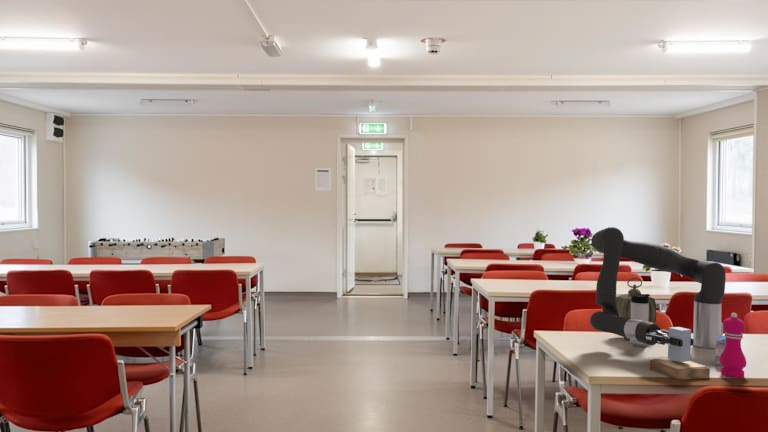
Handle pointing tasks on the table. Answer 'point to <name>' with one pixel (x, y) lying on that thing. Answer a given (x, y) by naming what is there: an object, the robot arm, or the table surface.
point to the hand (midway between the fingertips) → (687, 342)
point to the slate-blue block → (675, 351)
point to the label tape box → (719, 349)
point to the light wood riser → (679, 369)
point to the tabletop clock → (625, 304)
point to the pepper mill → (733, 348)
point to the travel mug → (639, 312)
